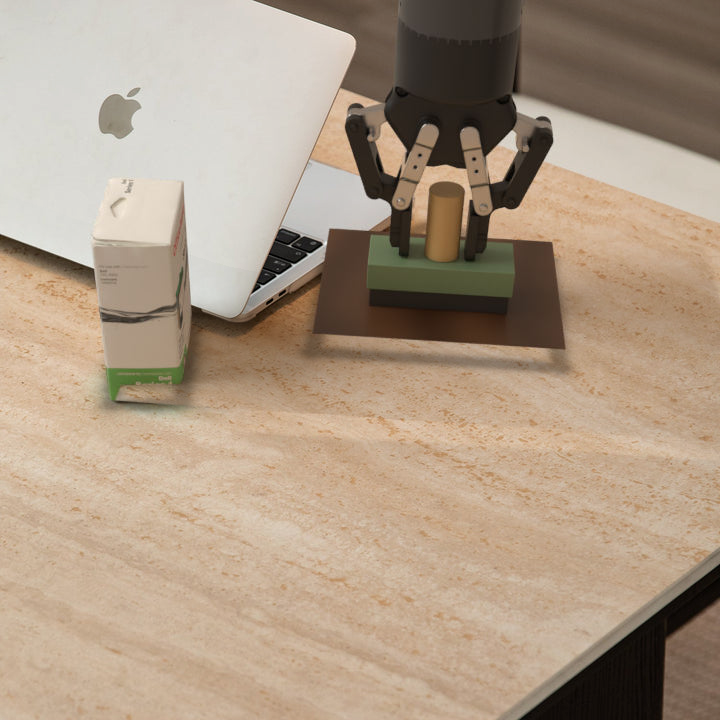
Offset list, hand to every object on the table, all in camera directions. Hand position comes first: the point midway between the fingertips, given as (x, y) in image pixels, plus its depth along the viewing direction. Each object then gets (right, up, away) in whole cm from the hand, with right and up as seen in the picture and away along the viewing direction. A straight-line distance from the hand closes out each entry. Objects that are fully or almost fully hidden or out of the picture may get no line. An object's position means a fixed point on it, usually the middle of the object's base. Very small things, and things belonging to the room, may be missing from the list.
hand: (437, 251), depth 86 cm
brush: (0, -3, +2) cm, 4 cm away
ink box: (-19, -8, -3) cm, 21 cm away
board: (0, -3, +4) cm, 5 cm away
